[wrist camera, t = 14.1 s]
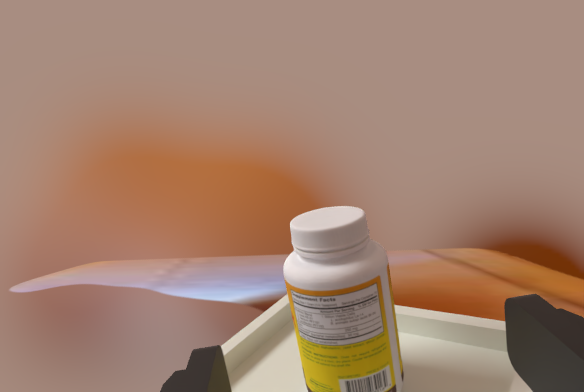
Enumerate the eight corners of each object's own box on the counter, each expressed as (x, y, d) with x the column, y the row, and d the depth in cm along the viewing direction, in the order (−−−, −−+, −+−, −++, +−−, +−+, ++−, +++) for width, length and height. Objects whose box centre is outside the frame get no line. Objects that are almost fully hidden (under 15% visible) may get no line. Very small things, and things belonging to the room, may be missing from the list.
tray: (160, 433, 25) (151, 400, 24) (297, 314, 36) (292, 289, 35) (504, 608, 14) (499, 555, 14) (549, 362, 25) (548, 328, 24)
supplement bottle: (342, 348, 28) (318, 199, 26) (422, 373, 25) (401, 202, 22) (287, 400, 24) (252, 230, 22) (371, 440, 21) (340, 239, 18)
